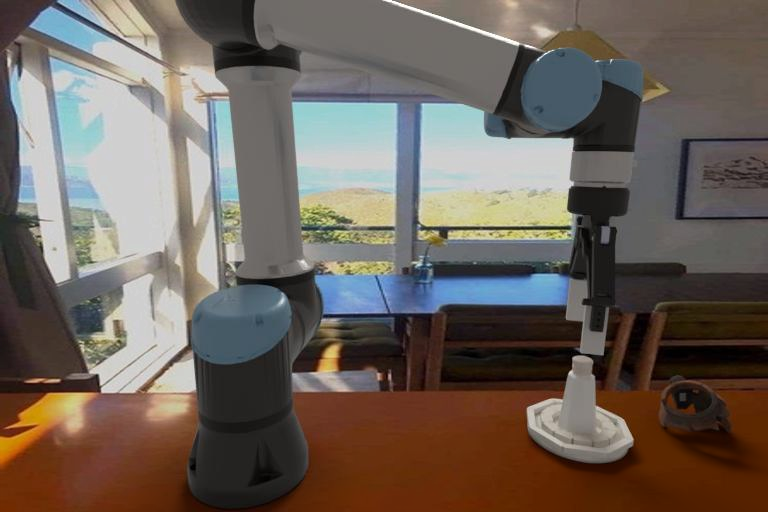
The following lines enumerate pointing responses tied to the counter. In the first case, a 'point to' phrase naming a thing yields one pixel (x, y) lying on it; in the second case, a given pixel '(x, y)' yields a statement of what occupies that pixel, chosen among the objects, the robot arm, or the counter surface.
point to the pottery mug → (704, 402)
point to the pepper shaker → (579, 399)
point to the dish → (596, 448)
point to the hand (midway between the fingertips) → (582, 335)
